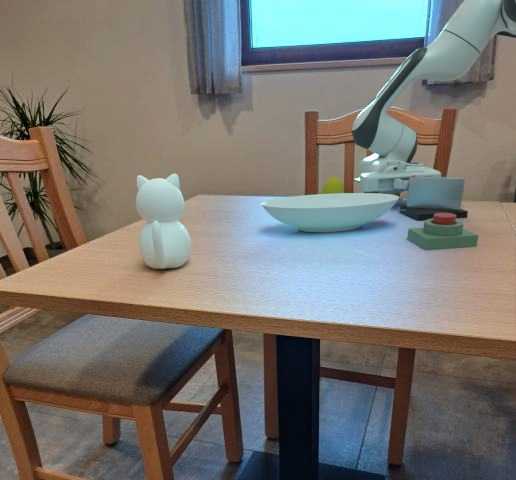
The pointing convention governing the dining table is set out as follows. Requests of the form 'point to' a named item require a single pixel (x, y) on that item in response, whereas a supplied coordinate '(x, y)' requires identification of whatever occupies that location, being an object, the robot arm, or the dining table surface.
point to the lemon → (333, 186)
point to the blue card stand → (435, 192)
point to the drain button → (444, 218)
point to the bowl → (330, 210)
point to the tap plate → (429, 213)
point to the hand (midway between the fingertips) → (412, 185)
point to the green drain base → (442, 236)
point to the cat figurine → (162, 223)
